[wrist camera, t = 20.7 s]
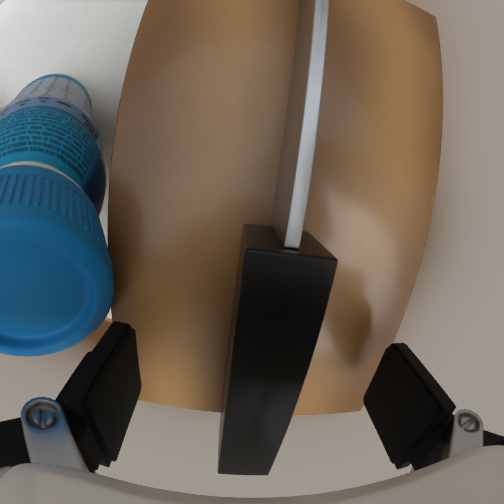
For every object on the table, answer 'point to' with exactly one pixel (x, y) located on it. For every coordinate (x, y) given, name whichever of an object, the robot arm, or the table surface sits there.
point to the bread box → (269, 183)
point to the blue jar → (51, 220)
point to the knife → (279, 281)
